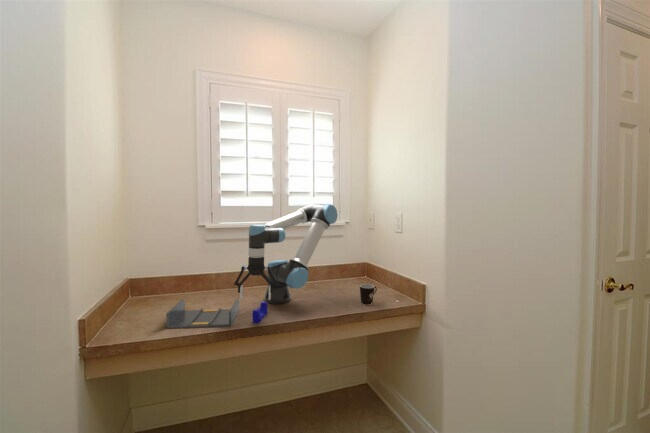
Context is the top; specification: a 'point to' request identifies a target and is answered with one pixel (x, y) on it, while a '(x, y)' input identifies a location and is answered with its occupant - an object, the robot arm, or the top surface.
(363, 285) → the coffee mug
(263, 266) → the robot arm
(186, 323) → the desk rack
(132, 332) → the top surface
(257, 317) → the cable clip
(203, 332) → the top surface
